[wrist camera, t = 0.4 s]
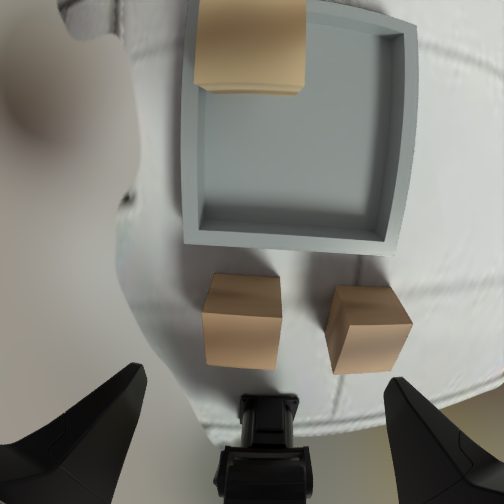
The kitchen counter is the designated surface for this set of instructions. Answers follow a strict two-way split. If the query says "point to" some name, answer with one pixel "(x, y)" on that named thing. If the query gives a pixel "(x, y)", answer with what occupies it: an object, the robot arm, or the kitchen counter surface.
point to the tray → (306, 143)
